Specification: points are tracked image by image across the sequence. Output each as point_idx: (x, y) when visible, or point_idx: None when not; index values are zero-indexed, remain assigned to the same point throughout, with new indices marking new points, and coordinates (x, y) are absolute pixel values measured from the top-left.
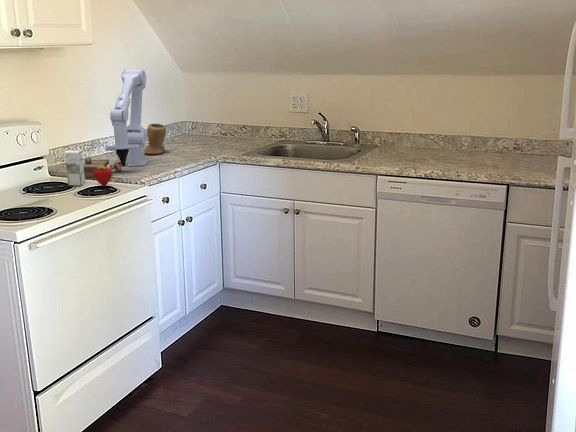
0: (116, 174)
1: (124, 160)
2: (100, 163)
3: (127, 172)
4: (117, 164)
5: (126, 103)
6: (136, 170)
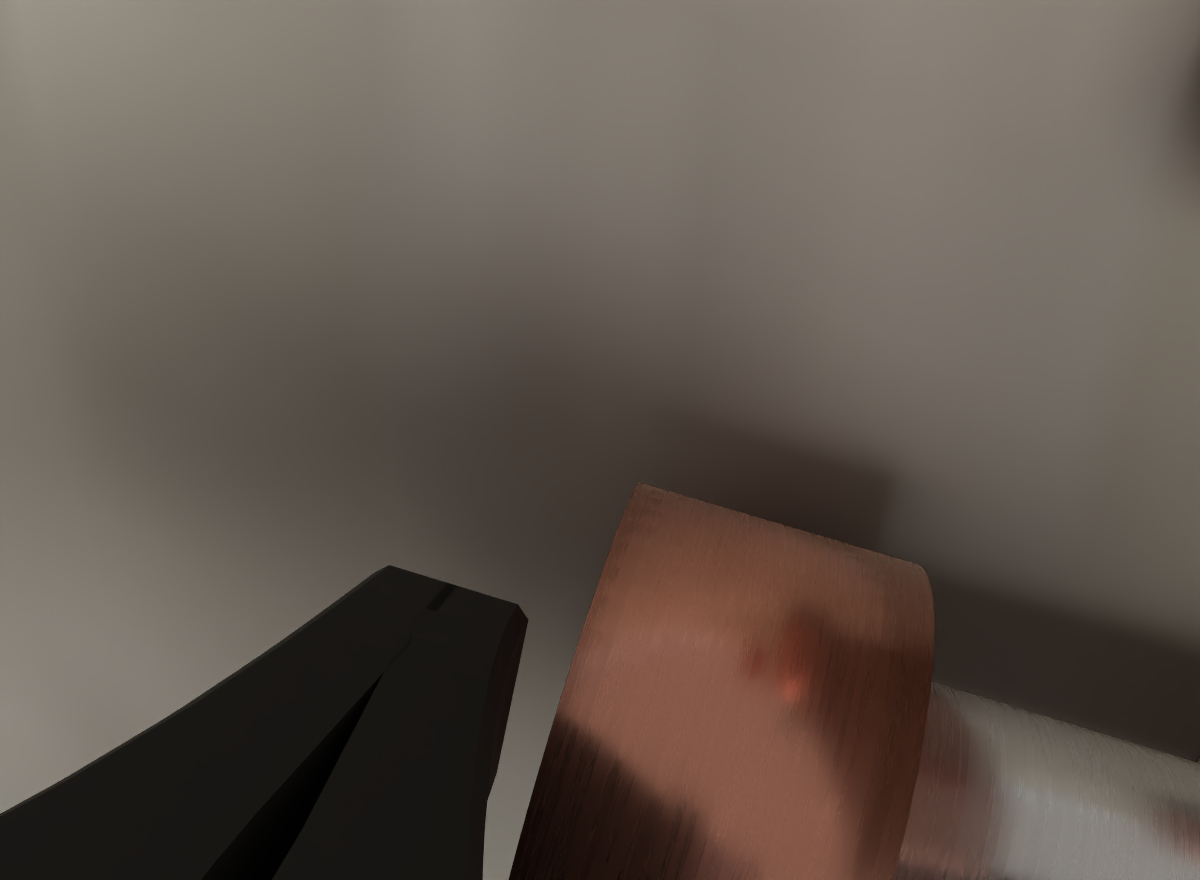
0: (937, 138)
1: (163, 757)
2: None
3: (398, 347)
4: (754, 728)
5: None
6: (90, 525)
